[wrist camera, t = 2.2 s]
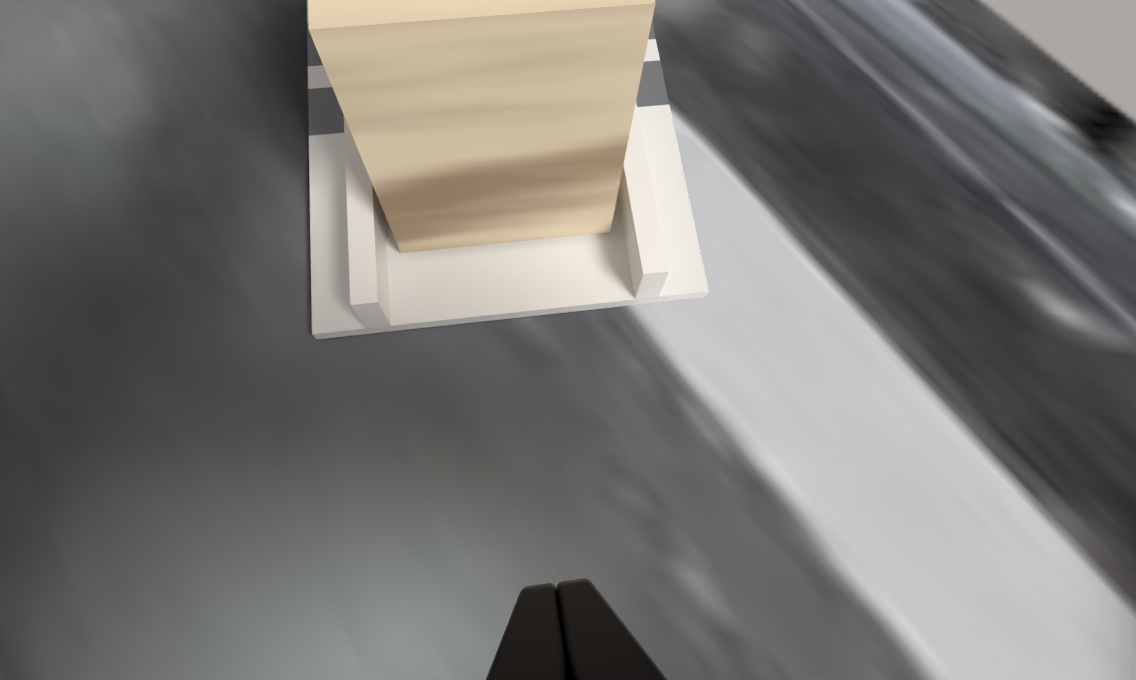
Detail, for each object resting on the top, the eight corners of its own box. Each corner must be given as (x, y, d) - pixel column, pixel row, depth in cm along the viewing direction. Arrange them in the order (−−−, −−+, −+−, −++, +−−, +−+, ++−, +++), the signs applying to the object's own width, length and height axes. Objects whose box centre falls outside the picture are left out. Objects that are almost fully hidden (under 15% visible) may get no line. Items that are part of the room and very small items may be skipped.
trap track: (705, 297, 24) (723, 265, 22) (316, 339, 23) (291, 311, 21) (623, -96, 30) (630, -154, 28) (308, -76, 29) (288, -134, 27)
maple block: (610, 232, 24) (655, 3, 15) (400, 252, 24) (308, 29, 14) (589, 108, 26) (617, -170, 16) (392, 125, 25) (305, -152, 16)
